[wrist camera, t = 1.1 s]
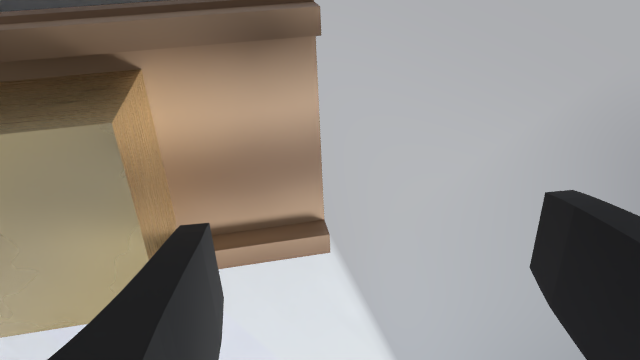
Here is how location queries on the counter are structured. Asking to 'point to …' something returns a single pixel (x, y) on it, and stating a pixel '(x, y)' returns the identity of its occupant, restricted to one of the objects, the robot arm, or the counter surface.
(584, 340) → the robot arm
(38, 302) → the block
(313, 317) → the counter surface
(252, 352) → the counter surface
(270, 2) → the beam
